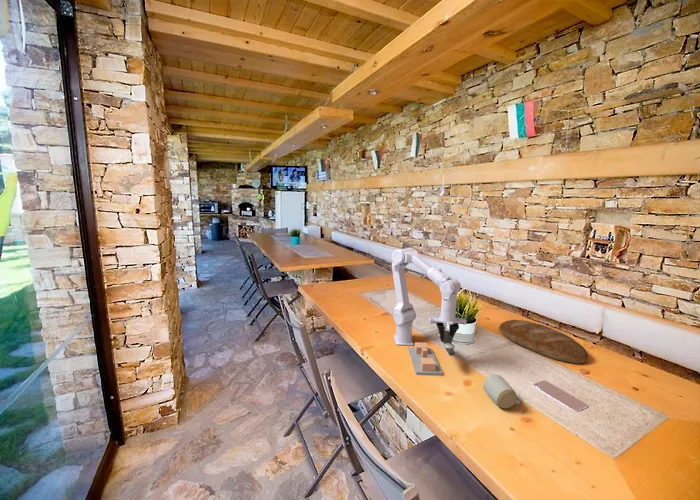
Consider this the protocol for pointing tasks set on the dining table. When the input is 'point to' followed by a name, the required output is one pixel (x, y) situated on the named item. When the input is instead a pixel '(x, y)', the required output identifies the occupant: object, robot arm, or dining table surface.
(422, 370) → the display stand
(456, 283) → the robot arm
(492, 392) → the ceramic mug
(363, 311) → the dining table surface
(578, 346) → the bread
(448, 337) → the stacked ball block column
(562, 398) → the mobile phone
